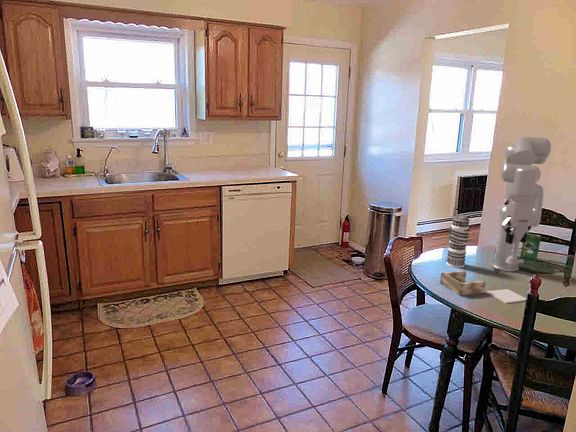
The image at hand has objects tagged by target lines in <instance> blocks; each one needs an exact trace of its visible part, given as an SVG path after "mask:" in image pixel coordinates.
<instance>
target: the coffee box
mask: <svg viewBox="0 0 576 432" xmlns="http://www.w3.org/2000/svg"><path fill="white" fill-rule="evenodd" d="M541 239H542V235H541V234H540V235H539V234H534V233H529V232H528V233H527V236H526V242H525V243H522V245H521V250H520V255H519V257H520V258H522V259H523V258H524V259H529V260H535V261H537V259H538V253H539V250H540V249H539V248H540V244H541Z"/></svg>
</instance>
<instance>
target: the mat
mask: <svg viewBox="0 0 576 432" xmlns="http://www.w3.org/2000/svg"><path fill="white" fill-rule="evenodd" d="M486 294H488V295H490V296H491V297H493V298H495V299H497V300H498V301H500V302H503V303H504V304H513V303H520V302H526V301H525V300H526V299H527V298H526V297H524V296H522V295H521V294H518V293H517V292H514V291H512V290H510V289H509V288H505V289H496V290H488V291H486Z"/></svg>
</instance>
